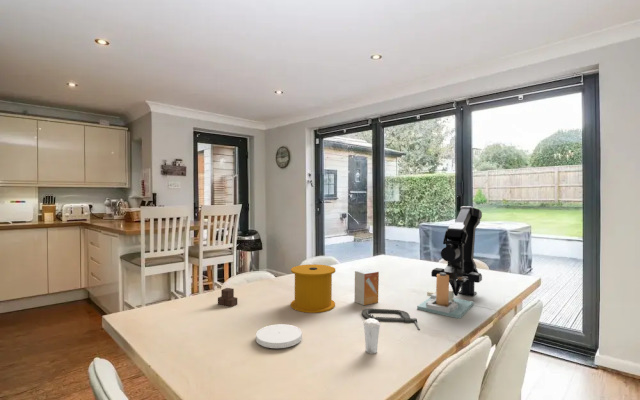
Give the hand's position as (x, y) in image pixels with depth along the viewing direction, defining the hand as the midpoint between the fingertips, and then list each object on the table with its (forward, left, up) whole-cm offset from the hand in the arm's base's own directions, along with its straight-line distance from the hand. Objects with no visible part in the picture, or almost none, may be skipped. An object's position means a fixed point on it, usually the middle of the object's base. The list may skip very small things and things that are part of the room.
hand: (456, 295), depth 138 cm
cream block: (0, -7, -2) cm, 7 cm away
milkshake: (+59, -7, -4) cm, 60 cm away
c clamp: (+32, -15, -4) cm, 35 cm away
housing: (+6, -2, -4) cm, 7 cm away
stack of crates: (+58, -73, -4) cm, 94 cm away
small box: (+21, -30, -4) cm, 37 cm away
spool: (+38, -45, -4) cm, 59 cm away
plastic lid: (+70, -33, -4) cm, 77 cm away
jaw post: (+11, -2, -2) cm, 11 cm away
